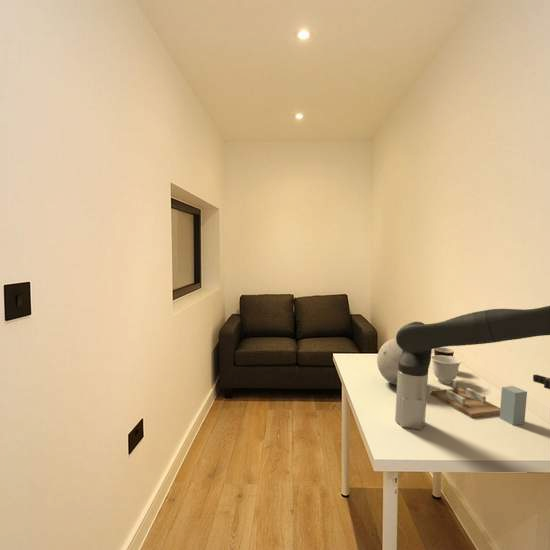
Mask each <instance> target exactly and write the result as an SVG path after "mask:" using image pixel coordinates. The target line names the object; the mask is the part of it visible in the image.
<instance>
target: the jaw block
mask: <svg viewBox="0 0 550 550" xmlns="http://www.w3.org/2000/svg"><path fill="white" fill-rule="evenodd" d="M527 398H528V391H527V390H524V389H522V388H520V387H517V386H515V385H510V386H502V387H501V396H500V407H499V408H500V415H499V419H500V420H502V421H504V422H506V423H508V424H509V425H510V426H511V425H512V426H517V425H523V424H524V425H525V422H526V410H527V409H526V407H527Z"/></svg>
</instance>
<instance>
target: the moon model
mask: <svg viewBox="0 0 550 550" xmlns="http://www.w3.org/2000/svg"><path fill="white" fill-rule="evenodd" d="M401 355H402V349H401V348H400V347H399V346H398V344H397V342H396V337H395V338H394V337H393V338H391V339H389V340H387V341H386V342H384V343H383V344H382V345H381V346H380V348H379V350H378V352H377V357H376V363H377V368H378V371H379V372H380V375H381V376H382V377H383V378H384V379H385V380H386V381H387V382H389V383H390V384H392V385H395V386H397V378H398V363H399V360H400V358H401Z"/></svg>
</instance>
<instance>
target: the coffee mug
mask: <svg viewBox="0 0 550 550" xmlns="http://www.w3.org/2000/svg"><path fill="white" fill-rule="evenodd" d="M433 351H434V352H433V353H434V355H433V356H435V355H444V356H452V357H454V353H455V351H454V350H453V349H451V348H447V347H440V348H435V349H433Z"/></svg>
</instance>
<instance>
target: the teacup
mask: <svg viewBox="0 0 550 550" xmlns="http://www.w3.org/2000/svg"><path fill="white" fill-rule="evenodd" d="M431 360H432V367H433V368H432V369H433V374H434V376H435V377H436V378H437V382H439V383H442V384H444V385H445V384H447V385H450V383H451V384H453V382H452V381H455V379H457V377H458V373H459V368H460V365H461V363H462V361H461V360H460V359H459V358H457V357H454V356H453V357H452V356H444V355H431Z"/></svg>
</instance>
